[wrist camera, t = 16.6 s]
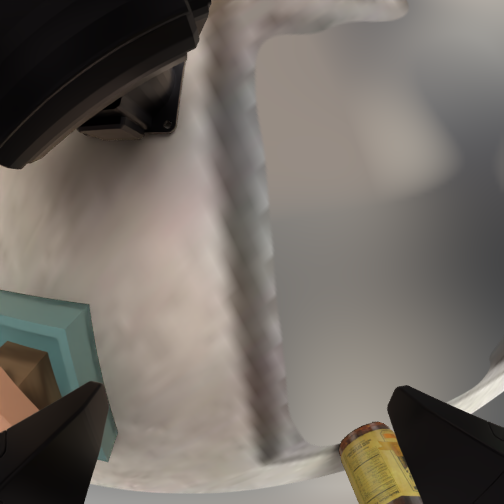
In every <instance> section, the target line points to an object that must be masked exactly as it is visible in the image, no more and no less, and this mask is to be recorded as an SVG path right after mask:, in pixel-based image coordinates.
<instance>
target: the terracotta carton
mask: <svg viewBox="0 0 504 504" xmlns="http://www.w3.org/2000/svg"><path fill="white" fill-rule="evenodd" d="M38 411H39V409H38V408H37V407H36V406H35V405H34V404H33V403H32V402H31V401H30V400H29V399H28V398H27V397H26V396H25V395H24V393H23V392H22V391H21V390H20V389H19V388H18V387H17V386H16V384H15V383H14V382H13V381H12V380H11V379H10V377H9V376H8V375H7V374H6V372H5V371H4V370H3V369H2V367H0V432H2V431H4V430H6V431H7V429H8V428H10V427H11V426H13V425H15V424H17V423H18V422H20V421H22V420H24V419H25V418H27V417H29V416H31V415H32V414H34V413H36V412H38Z"/></svg>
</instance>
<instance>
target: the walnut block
mask: <svg viewBox="0 0 504 504" xmlns="http://www.w3.org/2000/svg"><path fill="white" fill-rule="evenodd" d="M0 367H2V369H3V370H4V371H5V372H6V374H7V375H8V376H9V377H10V379H11V380H12V381H13V382H14V383H15V384H16V386H17V387H18V388H19V389H20V390H21V391H22V392H23V393H24V395H25V396H26V397H27V398H28V399H29V400H30V401H31V402H32V403H33V404H34V405H35V406H36V407H37V408H38V409H39V410H41V409H43V408H45V407H46V406H48V405H50V404H51V403H53V402H55V401H57V400H58V399H60V398H62V396H61V393H60V390H59V387H58V385H57V382H56V379H55V375H54V372H53V369H52V366H51V362H50V359H49V355H48V352H45V351H42V350H38V349H34V348H30V347H27V346H23V345H20V344H17V343H13V342H10V341H7V342H6V343H4V344H3V345H2V346H1V347H0Z"/></svg>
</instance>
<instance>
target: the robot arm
mask: <svg viewBox="0 0 504 504" xmlns="http://www.w3.org/2000/svg"><path fill="white" fill-rule="evenodd" d="M210 5H211V0H0V166H3V167H6V168H12V169H22V168H23V167H24V166H25V165H26V164H28V163H32V162H34V161H37V160H39V159H41V158H42V157H44V156H45V155H46V154H47V153H48V152H49V151H50V150H51V149H53V148H54V147H55V146H56V145H57V144H58V143H60V142H61V141H62V140H63V139H64V138H66V137H67V136H68V135H69V134H70V133H72V132H73V131H74V130H76V129H77V130H78V131H79V132H81V133H83V134H84V135H86V136H93V137H96V138H99V139H102V140H105V141H111V140H140V139H142V138H143V137H144V134H168V133H172V132H174V131H175V129H176V127H177V119H178V111H179V103H180V95H181V88H182V81H183V75H184V68H185V62H186V60H187V52H188V51H191V50H193V49H195V48H196V46H197V44H198V42H199V35H200V33H201V31H202V28H203V26H204V24H205V22H206V20H207V18H208V13H209V7H210ZM167 122H171V123H172V126H171V127H170V128H168V129H167V128H165V124H166V123H167ZM108 410H109V403H108V399H107V395H106V391H105V387H104V385H103V384H102V383H100V382H95V381H89V382H87V383H85V384H84V385H82V386H80V387H79V388H77V389H75V390H74V391H72V392H70V393H68V394H67V395H65V396H63V397H62V398H60V399H58V400H57V401H55V402H53V403H51V404H50V405H48V406H46V407H45V408H43V409H41V410H39V411H38V412H36V413H34V414H32V415H31V416H29V417H27V418H25V419H24V420H22V421H20V422H18V423H17V424H15V425H13V426H11V427H10V428H8V429H7V431H6V430H4V431H2V432H0V504H84V501H85V498H86V495H87V491H88V487H89V484H90V481H91V478H92V474H93V471H94V468H95V465H96V462H97V459H98V455H99V452H100V448H101V443H102V438H103V433H104V428H105V424H106V419H107V415H108ZM387 410H388V414H389V417H390V420H391V423H392V426H393V429H394V433H395V436H396V439H397V442H398V445H399V447H400V450H401V452H402V455H403V457H404V459H405V461H406V464H407V466H408V468H409V471H410V473H411V475H412V478H413V480H414V483H415V485H416V487H417V490H418V492H419V495H420V497H421V500H422V502H423V504H504V427H501V426H498V425H496V424H493V423H491V422H487V421H486V420H483V419H481V418H479V417H476V416H474V415H472V414H469V413H467V412H465V411H462V410H460V409H458V408H456V407H453V406H451V405H449V404H447V403H445V402H442V401H440V400H438V399H436V398H434V397H431V396H429V395H427V394H425V393H423V392H421V391H419V390H416V389H414V388H412V387H410V386H407V385H405V386H399V387H397V388H396V389H395V390H394V392H393V395H392V397H391V399H390V401H389V404H388V407H387Z"/></svg>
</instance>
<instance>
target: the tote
mask: <svg viewBox="0 0 504 504" xmlns="http://www.w3.org/2000/svg"><path fill="white" fill-rule="evenodd" d="M7 341H10V342H13V343H17V344H20V345H23V346H27V347H30V348H34V349H38V350H42V351H45V352H48V355H49V359H50V362H51V366H52V369H53V372H54V375H55V379H56V382H57V385H58V387H59V390H60V393H61V396H62V397H63V396H65V395H67V394H68V393H70V392H72V391H74V390H75V389H77V388H79V387H80V386H82V385H84V384H85V383H87V382H89V381H95V382H100V383H102V384H103V385H104V383H103V379H102V374H101V370H100V365H99V361H98V356H97V351H96V346H95V340H94V334H93V328H92V322H91V315H90V308H89V304H82V303H75V302H68V301H61V300H54V299H48V298H42V297H36V296H30V295H25V294H19V293H14V292H9V291H3V290H0V347H1V346H2V345H3V344H4V343H6V342H7ZM107 399H108V398H107ZM108 403H109V402H108ZM117 434H118V432H117V429H116V426H115V422H114V419H113V416H112V413H111V409H110V406H109V410H108V415H107V419H106V424H105V428H104V433H103V438H102V443H101V448H100V452H99V455H98V460H102V461H106V462H108V461H109V458H110V455H111V452H112V449H113V446H114V443H115V440H116V437H117Z"/></svg>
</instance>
